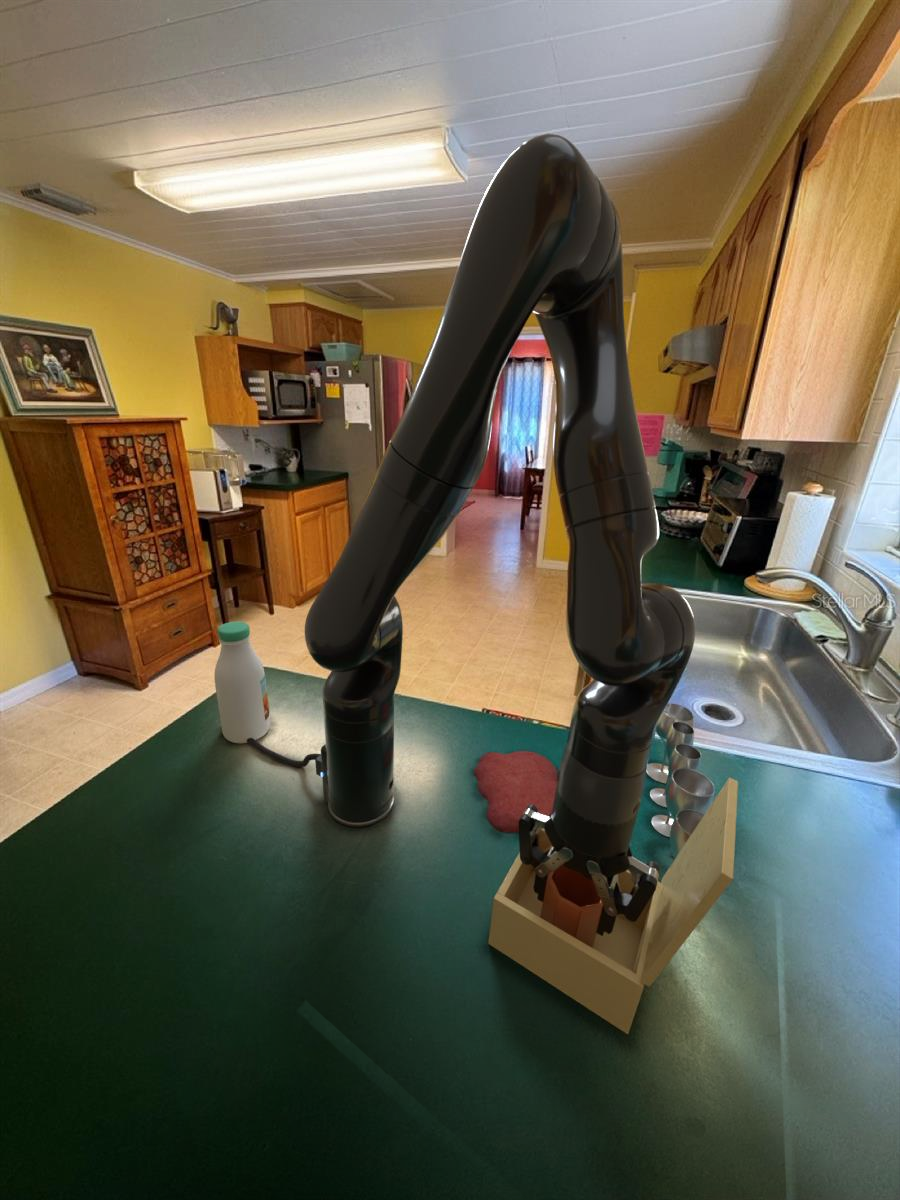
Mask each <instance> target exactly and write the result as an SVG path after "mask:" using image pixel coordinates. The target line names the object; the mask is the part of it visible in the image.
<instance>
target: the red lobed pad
mask: <svg viewBox="0 0 900 1200" xmlns="http://www.w3.org/2000/svg"><path fill="white" fill-rule="evenodd" d="M478 760H479V761H478V763H477V764H476V766H475V768H474V771H473V775H474V777H475V779H476V780H477V790H478V792H479V794H480V795H481V796H482V797H483V798H484V799H485V800H486V801H487V803H488V808H487V810H486V820H487V821H488V823H489V825H490V826H491V827H492V828H494V830H497V831H499V832H501V833H506V834H513V833H519V824H518V821H519V819H520V818H521V816H522V814H523V812H524V811H525V809H526V808H527V806H528V805H529V804H533V805H535V806H536V807H537V809H538V813H540V814H543V815H546V816H549V815H550V814H551V813H552V808H553V803H554V797H555V791H556V786H557V774H558V769H557V768H556V766H555V765H554V763H552V761H551V760H549V759H548V758H547V757H545V756H543V755H541V754H540V753H537V752H534V751H530V750H518V751H513V752H510V753H502V752H499V751H489V752H486V753H484V754H483V755H481V756H480V758H479V759H478Z"/></svg>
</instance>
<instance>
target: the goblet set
mask: <svg viewBox="0 0 900 1200" xmlns="http://www.w3.org/2000/svg"><path fill="white" fill-rule="evenodd" d="M695 729H696V721H695V715H694V713H693V712H692V710H690V709H689V708H688V707H686V706H683V705H681V704H677V703H668V704H667V706H666V708H665V709H664V711H663V713H662V715H661V717H660V719H659V721H658V724H657V727H656V732H655V734H657V736H658V737H659V739H660V740H661V741H662V742H663V744H664V754H663V759H662V763H658V762H651V763H648V764H647V769H646V775H648V777H650V778H651V779H652V780H654V781H656V782H658V783H661V784H665V786H664V788H660V787H655V788H653V789H651V790H650V791H649V797H650V798H651V800H652V801H653V802H654V803H655V804H656V805H658V806H661V807H663V808H667V811H668V814H667V815H664V814H656V815H654V816H653V817H652V818H651V825H652V827H653V829H655V831H656V832H657V833H659V835H662V836H664V837H667V838H669V844H670V850H669V853H668V856H669V857H673V856H674V857H675V858H676V857H677V856H678V854H679V853H680V851H681V850H682V848H683V847H684V845H685V843H686V842H687V840H688V839H689V837H690V836H691V834H692V833H693V831H694V830H695V828H696V827H697V825H698V824H699V822H700V821H701V819H702V818H703V816H704V815H705V813H706V812H707V810H708V809H709V807H710V806H711V804H712V803H713V801H714V800H715V795H716V794H715V793H716V788H715V785H714V783H713V781H712V780H711V779H710V778H709V777H708V776H706V775H705V774H703V773H702V772H700V769H701V763H702V753H701V752H700V750H699V749H698V748H696V747H695V746H694V742H695V731H696V730H695ZM667 760H668V765H665V764H666V761H667Z"/></svg>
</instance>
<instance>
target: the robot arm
mask: <svg viewBox="0 0 900 1200" xmlns="http://www.w3.org/2000/svg"><path fill="white" fill-rule="evenodd" d="M622 236H623V235H622V227H621V220H620V216H619V213H618V210H617V208H616V205H615V204H614V202H613V200H612V198H611V197H610V195H609V193H608V192H607V191H606V189H605V188H604V185H603V184H602V183H601V181H600V179H599V178H598V176H597V175H596V173H595V172H594V170H593V168H592V167H591V165H590V164H589V162H588V161H587V159H586V158H585V156H584V155H583V154H582V153H581V151H580V150H579V149H578V148H577V146H575V144H573V143H572V142H571V141H570V140H569V139H567V137H564V136H563V135H560V134H555V133H544V134H540V135H536V136H534V137H532V138H530V139H529V140H527V141H525V142H523V143H522V144H521V145H520V146H518V148H516V150H514V151H513V152H512V153H511V154H510V155H509V156H508V158H507V159H506V160H505V161H504V162H503V163H502V164H501V166H500V168H499V169H498V170H497V172H496V173H495V175H494V177H493V179H492V180H491V182H490V184H489V186H488V187H487V188H486V191H485V193H484V196H483V198H482V199H481V202H480V204H479V207H478V209H477V212H476V214H475V217H474V220H473V222H472V225H471V227H470V230H469V233H468V236H467V239H466V241H465V245H464V248H463V252H462V254H461V257H460V260H459V263H458V266H457V268H456V272H455V275H454V279H453V281H452V284H451V288H450V290H449V294H448V297H447V299H446V303H445V306H444V309H443V312H442V314H441V317H440V320H439V323H438V325H437V329H436V332H435V334H434V337H433V339H432V343H431V345H430V347H429V349H428V352H427V355H426V357H425V359H424V362H423V365H422V367H421V370H420V371H419V374H418V377H417V379H416V381H415V384H414V386H413V389H412V391H411V393H410V396H409V399H408V400H407V404H406V406H405V408H404V411H403V413H402V415H401V417H400V419H399V421H398V423H397V424H396V427H395V429H394V431H393V433H392V435H391V437H390V440H389V442H388V444H387V446H386V449H385V451H384V454H383V455H382V457H381V460H380V461H379V465H378V467H377V468H376V469H377V470H376V472H375V475H374V478H373V480H372V483H371V485H370V487H369V489H368V493H367V495H366V497H365V499H364V501H363V503H362V506H361V508H360V510H359V512H358V515H357V517H356V519H355V522H354V524H353V527H352V529H351V531H350V533H349V536H348V538H347V541H346V543H345V545H344V548H343V549H342V551H341V554H340V556H339V558H338V560H337V561H336V564H335V565H334V567H333V568H332V571H331V572H330V574H329V575H328V577H327V579H326V581H325V582H324V584H323V586H322V587H321V589H320V591H319V592H318V593H317V595H316V598H315V599H314V601H313V603H312V604H311V606H310V608H309V609H308V612H307V615H306V618H305V623H304V640H305V645H306V648H307V651H308V653H309V655H310V656H311V658H312V660H314V662H315V663H316V664H317V665H318V666H320V667H321V668H323V669H324V670H328V671H330V673H329V674H328V676H327V677H326V679H325V681H324V683H323V686H322V692H321V693H322V707H323V708H322V709H323V725H324V739H325V740H324V741H325V744H323V745H322V746H321V747H320V753H309V754H307V755H305V756H304V758H303V760H295V759H292V758H289V757H287V756H284V755H281V754H279V753H277V752H275V751H273V750H271V749H269V748H267V747H266V746H264V745H262V744H261V743H260V742H258V741H257V740H254V739H253V738H248V739H247V743H248V744H249V745H250V746H252V747H253V748H254V749H256V750H257V751H258V752H260V753H261V754H263V755H265V756H267V757H269V758H272V759H273V760H275V761H278V762H279V763H281V764H283V765H287V766H291V767H294V768H304V767H306V766H307V765H309V764H310V761H314V762H315V774H316V775H317V776H319V777H320V778H322V793H323V801H324V803H326V804H327V807H328V812H329V814H330V815H331V817H332V818H333V819H334V820H335V821H336V822H338V823H339V824H341V825H344V826H347V827H352V828H362V827H368V826H371V825H374V824H376V823H378V822H380V821H382V820H383V819H384V818H386V817H387V815H388V814H389V813H390V812H391V810H392V809H393V806H394V804H395V790H394V781H395V780H396V779H395V777H396V773H395V765H394V764H395V692H396V689H397V687H398V684H399V681H400V677H401V672H402V671H401V670H402V657H403V638H404V637H403V636H404V622H403V614H402V609H401V606H400V603H399V601H398V599H397V597H396V594H397V592H398V591H399V589H400V588H401V587H402V585H403V584H404V583H405V581H406V580H407V579H408V578H409V577H410V576H411V574H412V573H413V572H414V571H415V570H416V569H417V568H418V567H419V566H420V564H421V563H422V562H424V560H425V559H426V558H427V557H428V556H429V554H430V553H431V552H432V551H433V550H434V549H435V548H436V546H437V545H438V544H439V543H440V541H441V540H442V539H443V537H444V536H445V535H446V534H447V533H448V531H449V530H450V529H451V527H452V525H453V524H454V522H455V521H456V519H457V518H458V516H459V515H460V513H461V511H462V509H463V508H464V506H465V504H466V502H467V500H468V498H469V497H470V495H471V493H472V492H473V490H474V488H475V486H476V484H477V483H478V480H479V479H480V477H481V474H482V473H483V470H484V468H485V464H486V461H487V457H488V454H489V447H490V443H491V442H490V441H491V436H492V435H491V434H492V427H493V416H494V411H495V410H494V409H495V404H496V403H495V402H496V396H497V391H498V386H499V383H500V379H501V376H502V374H503V371H504V368H505V366H506V363H507V362H508V359H509V357H510V354H511V353H512V350H513V349H514V346H515V345H516V343H517V341H518V339H519V337H520V336H521V333H522V331H523V330H524V328H525V326H526V324H527V322H528V320H529V318H530V317H531V315H532V313H533V314H534V316H535V317H536V320H537V323H538V325H539V327H540V330H541V333H542V336H543V338H544V341H545V344H546V347H547V350H548V352H549V357H550V360H551V365H552V370H553V375H554V377H553V378H554V384H555V417H554V429H553V442H552V443H553V445H552V447H553V449H552V451H553V471H554V479H555V485H556V490H557V496H558V499H559V504H560V509H561V515H562V519H563V524H564V528H565V534H566V539H567V541H568V548H569V549H568V560H567V571H566V594H565V596H566V597H565V598H566V599H565V628H566V629H565V630H566V635H567V640H568V644H569V647H570V649H571V652H572V654H573V656H574V659H575V660H576V662H577V663H578V665H579V666H580V668H581V669H582V670H583V671H584V672H585V674H586V675H588V676H589V677H590V678H591V679H592V680H591V681H590V682H589V683H588V684H586V685H585V686H584V687H583V688H582V689H581V690H580V691H579V693H578V695H577V696H576V699H575V701H574V705H573V708H572V713H571V718H570V725H569V730H568V735H567V740H566V744H565V747H564V750H563V753H562V756H561V759H560V763H559V767H558V769H557V773H558V774H557V786H556V791H555V797H554V803H553V808H552V813H551V814H550V815H549V816H546V815H543V814H540V813H538V809H537V807H536V806H535V805H533V804H529V805H528V806H527V808H526V809H525V811H524V812H523V814H522V816H521V818H520V819H519V821H518V824H519V832H518V842H519V852H520V860H521V861H522V862H523V863H524V864H526V865H529V864H531V865H532V866H533V867H534V868H535V873H536V876H535V882H534V887H533V888H534V892H535V893H537V894H538V897H537V899H538V900H539V901H541V902H543V899H544V893H545V888H546V882H547V877H548V874H549V873H550V872H551V871H553V872H554V871H555V870H557V869H558V868H559V867H560V866H561V865H563V864H564V865H563V866H565V867H567V868H569V869H571V870H574V871H577V872H579V873H581V874H582V875H583V876H585V877H586V878H588V879H590V880H592V881H593V883H594V886H595V889H596V892H597V895H598V896H600V897H601V900H602V903H603V909H602V912H601V916H600V920H599V924H598V928H597V932H596V933H597V934H599V935H601V936H603V934H604V932H606V933H608V934H610V933H611V932H612V930H613V927H614V923H615V920H616V916H617V915H618V914H623V915H624V916H625V917H626V918H627V919H628V920H629V921H632V922H636V921H637V919H638V918H639V916H640V915H641V913H642V911H643V910H644V908H645V906H646V905H647V903H648V902H649V900H650V898H651V897H652V895H653V894H654V892H655V890H656V887H657V882H658V881H659V877H660V872H661V866H660V865H659V864H658V863H657V862H656V861H652V860H650V861H648V862H647V863H644V862H642V861H640V860H639V859H637V858H636V857H634V856H633V852H632V850H631V846H630V843H631V840H632V836H633V833H634V829H635V825H636V821H637V817H638V815H639V811H640V808H641V805H642V799H643V796H644V791H645V786H646V779H647V772H646V769H647V765H648V764H649V760H650V756H651V753H652V749H653V745H654V741H655V737H656V727H657V724H658V721H659V719H660V717H661V715H662V713H663V711H664V709H665V708H666V706H667V704H670V701H671V699H672V697H673V695H674V693H675V691H676V689H677V687H678V684H679V683H680V681H681V678H682V677H683V674H684V672H685V671H686V668H687V666H688V664H689V661H690V658H691V656H692V653H693V649H694V644H695V639H696V621H695V616H694V613H693V610H692V608H691V605H690V604H689V602H688V600H687V599H686V598H685V596H684V595H683V594H682V593H681V592H679V591H677V590H676V589H675V588H673V587H671V586H669V585H666V584H663V583H656V582H655V583H654V582H651V583H642V562H643V559H644V556H645V555H647V554H648V553H649V552H650V551H651V550H652V549H654V547H655V546H656V545H657V543H658V542H659V539H660V522H659V515H658V511H657V509H656V507H657V506H656V501H655V495H654V491H653V486H652V480H651V476H650V471H649V470H650V469H649V465H648V461H647V456H646V452H645V447H644V446H645V445H644V442H643V437H642V433H641V427H640V424H639V417H638V413H637V407H636V403H635V398H634V397H635V396H634V392H633V391H634V390H633V387H632V380H631V373H630V367H629V359H628V358H629V357H628V349H627V336H626V335H627V334H626V324H625V323H626V322H625V301H624V298H625V297H624V296H625V295H624V261H623V237H622ZM541 829H544V830H545V833H546V835H547V837H548V839H549V841H550V842H551V844H552V845H551V846H550V847H549V848H548V849H547V850H545V851H544V852H543V851H542V850H541V849H539V832H540V830H541ZM627 870H628V871H629V872H630V873H631V875H632V878H631V880H632V882H633V883H634V886H633V888H632V890H631V892H630V894H626V893H622V890H621V887H620V883H619V880H618V874H619V873H622V872H625V871H627Z"/></svg>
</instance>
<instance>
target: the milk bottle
mask: <svg viewBox="0 0 900 1200" xmlns="http://www.w3.org/2000/svg"><path fill="white" fill-rule="evenodd" d="M217 636H218V642H219V644H221V647H220V652H219V655H218V658H217V660H216V664H215V668H214V686H215V687H214V688H215V694H216V701H217V707H218V713H219V720H220V726H221V730H222V731H221V732H222V735H223V737H224V738H225V739H226V740H227V741H228V742H231V743H234V744H247V743H248V742H247V739H248V738H253V739H254V740H256V741H257V740H259V739H261V738H263V737H264V736H265V735H266V734H267V733H268V732H269V730H270V728H271V714H270V704H269V697H268V689H267V681H266V674H265V669H264V665H263V662H262V660H261V657H259V655H258V653H256V651H255V650H254V648H253V646H252V644H251V641H250V639H251V629H250V625H249V623H247V622H245V621H229V622H226V623H223V624H221V625H220V626H219V627H217Z"/></svg>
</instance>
